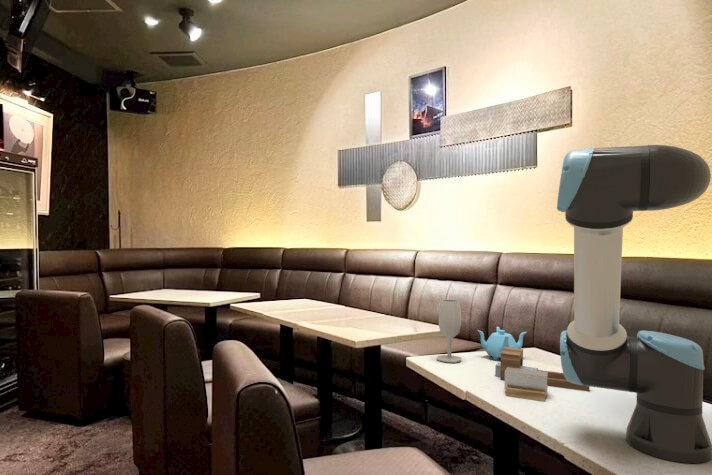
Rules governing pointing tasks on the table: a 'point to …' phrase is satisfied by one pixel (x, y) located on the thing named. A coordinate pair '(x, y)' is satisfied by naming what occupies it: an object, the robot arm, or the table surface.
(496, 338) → the teapot
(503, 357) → the brown wooden forked piece
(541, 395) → the tan tray
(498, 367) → the block
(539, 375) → the block
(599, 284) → the robot arm
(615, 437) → the table surface
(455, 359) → the wineglass
